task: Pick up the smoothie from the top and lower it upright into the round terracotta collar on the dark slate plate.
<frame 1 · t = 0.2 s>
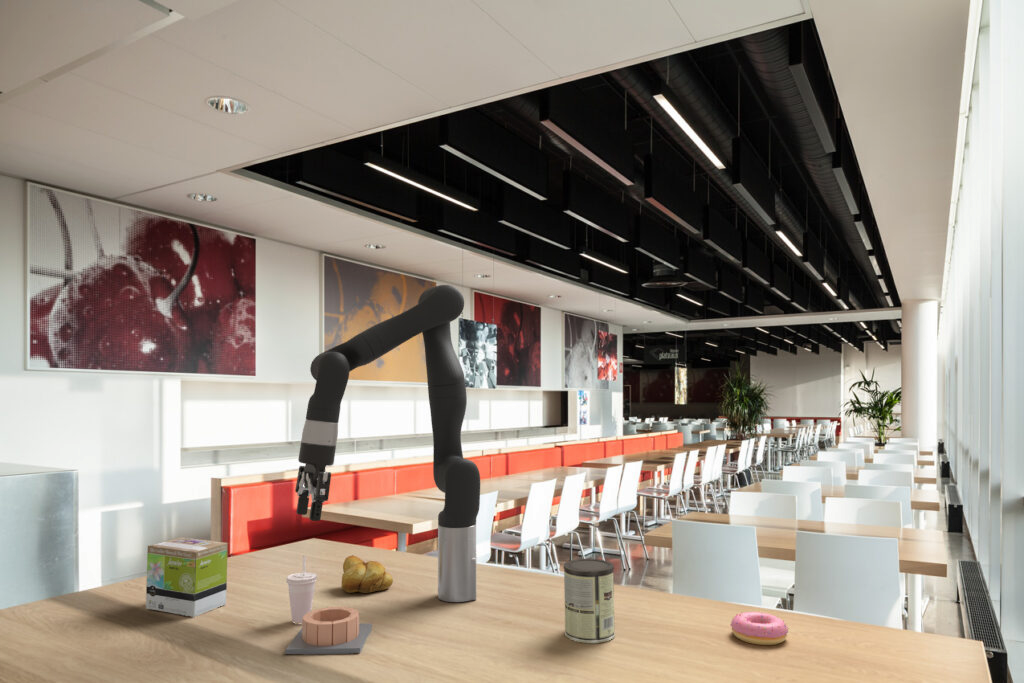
hand: (307, 517, 152), 22 cm above the table, tool pointing down, fingers open, 8 cm apart
tea box: (186, 608, 162), on the table
smoothie: (301, 622, 152), on the table
coffee can: (589, 635, 143), on the table
doughnut: (759, 639, 141), on the table
collar: (330, 640, 140), on the table
bread roll: (366, 591, 175), on the table
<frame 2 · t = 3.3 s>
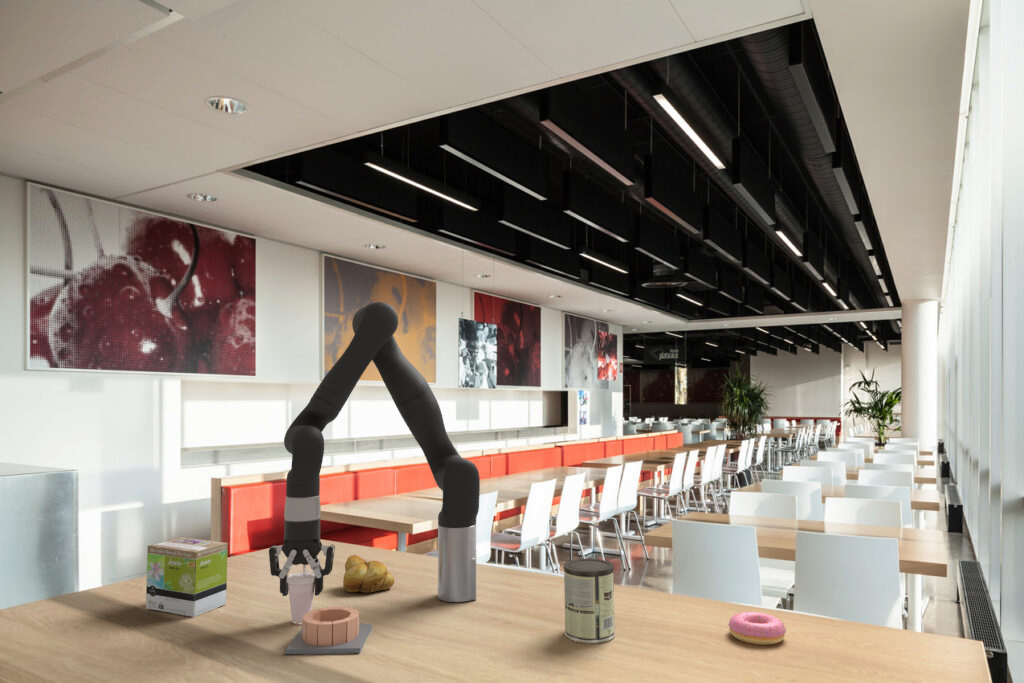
hand: (301, 594, 152), 6 cm above the table, tool pointing down, fingers closed on smoothie, 6 cm apart
smoothie: (301, 622, 152), on the table, touching gripper
everything else where it was.
when the fingers open (8 cm above the table, at t = 8.3 s): smoothie stays where it is, resting on collar.
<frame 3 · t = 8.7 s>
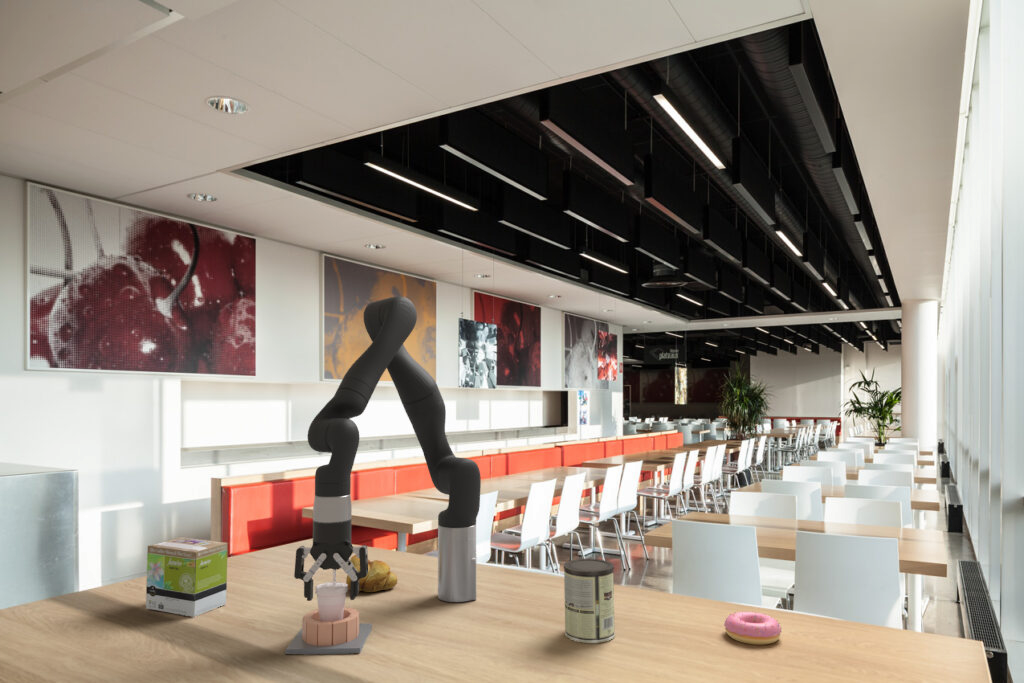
hand: (331, 599, 141), 8 cm above the table, tool pointing down, fingers open, 8 cm apart
smoothie: (331, 636, 140), point 1 cm above the table, touching collar
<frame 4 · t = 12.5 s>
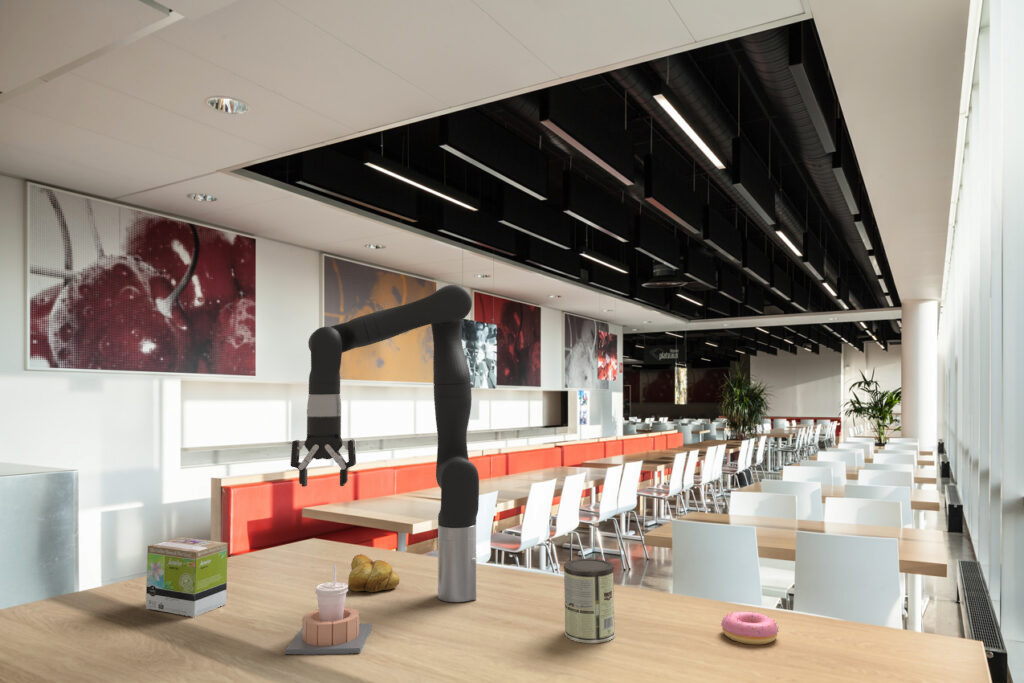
hand: (323, 486, 160), 28 cm above the table, tool pointing down, fingers open, 8 cm apart
at the end: smoothie 0.1 cm from the collar (horizontally); smoothie point 0.8 cm above the table; smoothie tilted 0° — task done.
